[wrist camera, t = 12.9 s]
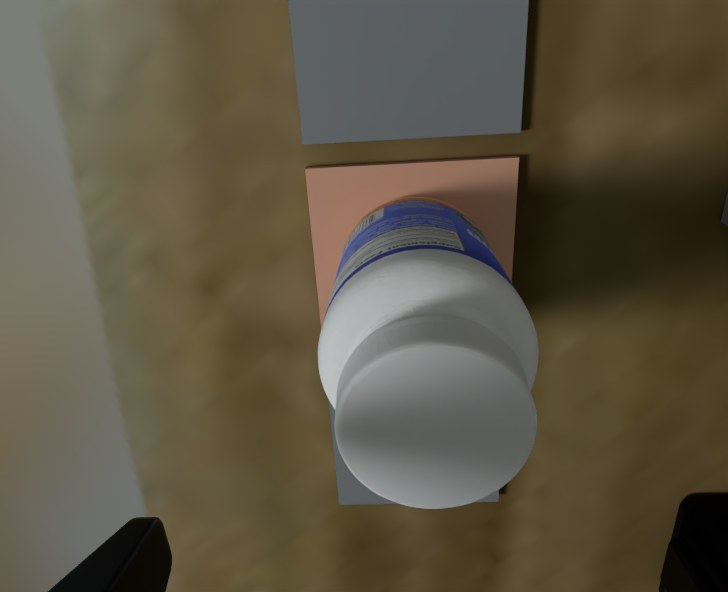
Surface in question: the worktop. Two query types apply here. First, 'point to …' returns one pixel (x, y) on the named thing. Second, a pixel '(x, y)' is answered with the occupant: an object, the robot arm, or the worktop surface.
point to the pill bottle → (428, 358)
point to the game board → (407, 122)
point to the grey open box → (725, 212)
